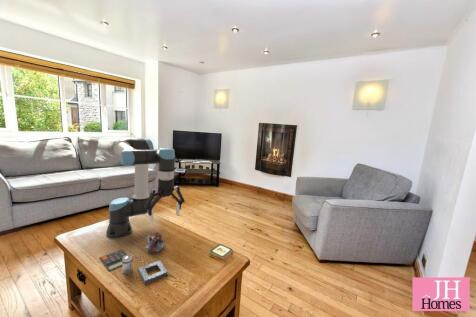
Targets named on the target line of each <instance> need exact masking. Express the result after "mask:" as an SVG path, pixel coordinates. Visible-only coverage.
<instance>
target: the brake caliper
mask: <svg viewBox="0 0 476 317" xmlns="http://www.w3.org/2000/svg"><path fill="white" fill-rule="evenodd" d="M162 238H163V235H162V234H161V233H159V232H158V231H156V232H155V233H154V236H151V235H147V236H146V240H147V245H145V246H144V248H145V249H146V250H147V251H148V252H150V253H160V252H161V251H162V250H163V249H164V248H165V247H166V246H165V245H166V244H165V242H166V241H165V240H164V239H162Z"/></svg>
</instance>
